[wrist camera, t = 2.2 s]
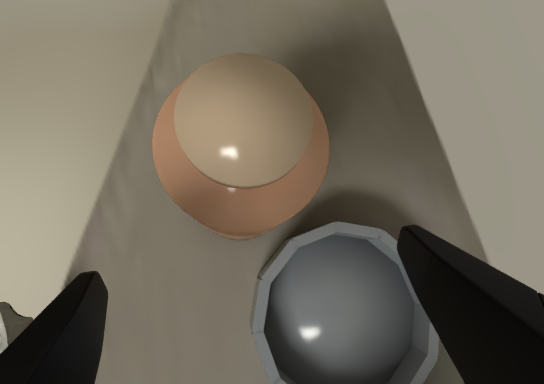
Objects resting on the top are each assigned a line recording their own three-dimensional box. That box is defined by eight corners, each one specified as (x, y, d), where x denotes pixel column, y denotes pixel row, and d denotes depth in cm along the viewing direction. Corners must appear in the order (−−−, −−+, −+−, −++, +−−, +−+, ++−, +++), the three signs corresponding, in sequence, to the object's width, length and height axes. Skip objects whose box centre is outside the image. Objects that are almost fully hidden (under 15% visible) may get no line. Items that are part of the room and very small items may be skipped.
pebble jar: (300, 220, 21) (385, 181, 9) (211, 254, 20) (173, 262, 8) (267, 136, 22) (304, -3, 10) (179, 165, 21) (101, 50, 9)
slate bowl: (442, 358, 20) (470, 373, 18) (289, 434, 19) (298, 462, 16) (375, 204, 22) (393, 198, 19) (228, 262, 20) (226, 264, 17)
